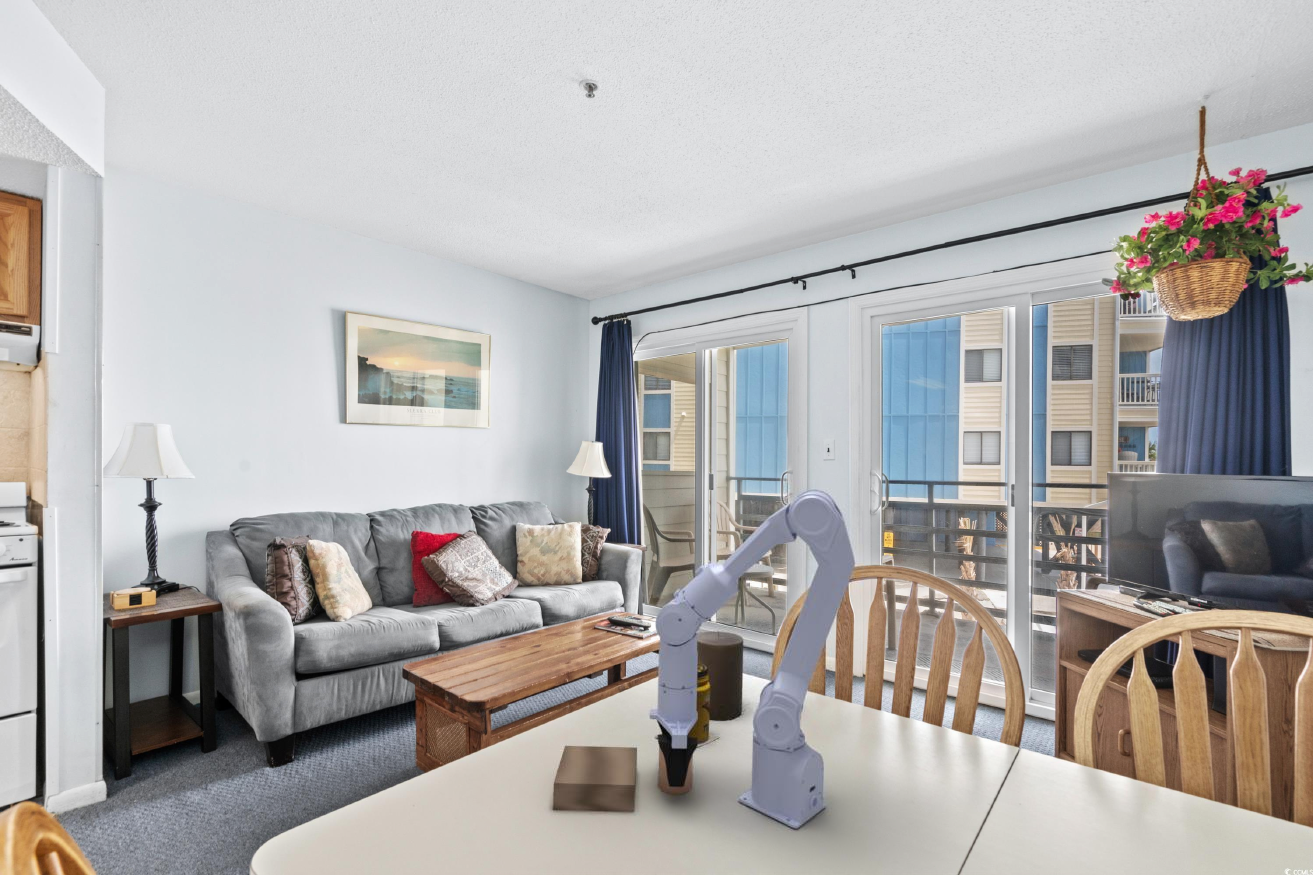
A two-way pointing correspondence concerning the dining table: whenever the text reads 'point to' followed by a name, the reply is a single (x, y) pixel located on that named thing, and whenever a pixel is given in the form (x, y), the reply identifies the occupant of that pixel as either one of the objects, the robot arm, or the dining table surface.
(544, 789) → the dining table surface
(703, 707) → the condiment
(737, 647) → the pillar candle
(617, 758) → the walnut block
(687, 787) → the terracotta cylinder
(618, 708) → the dining table surface
